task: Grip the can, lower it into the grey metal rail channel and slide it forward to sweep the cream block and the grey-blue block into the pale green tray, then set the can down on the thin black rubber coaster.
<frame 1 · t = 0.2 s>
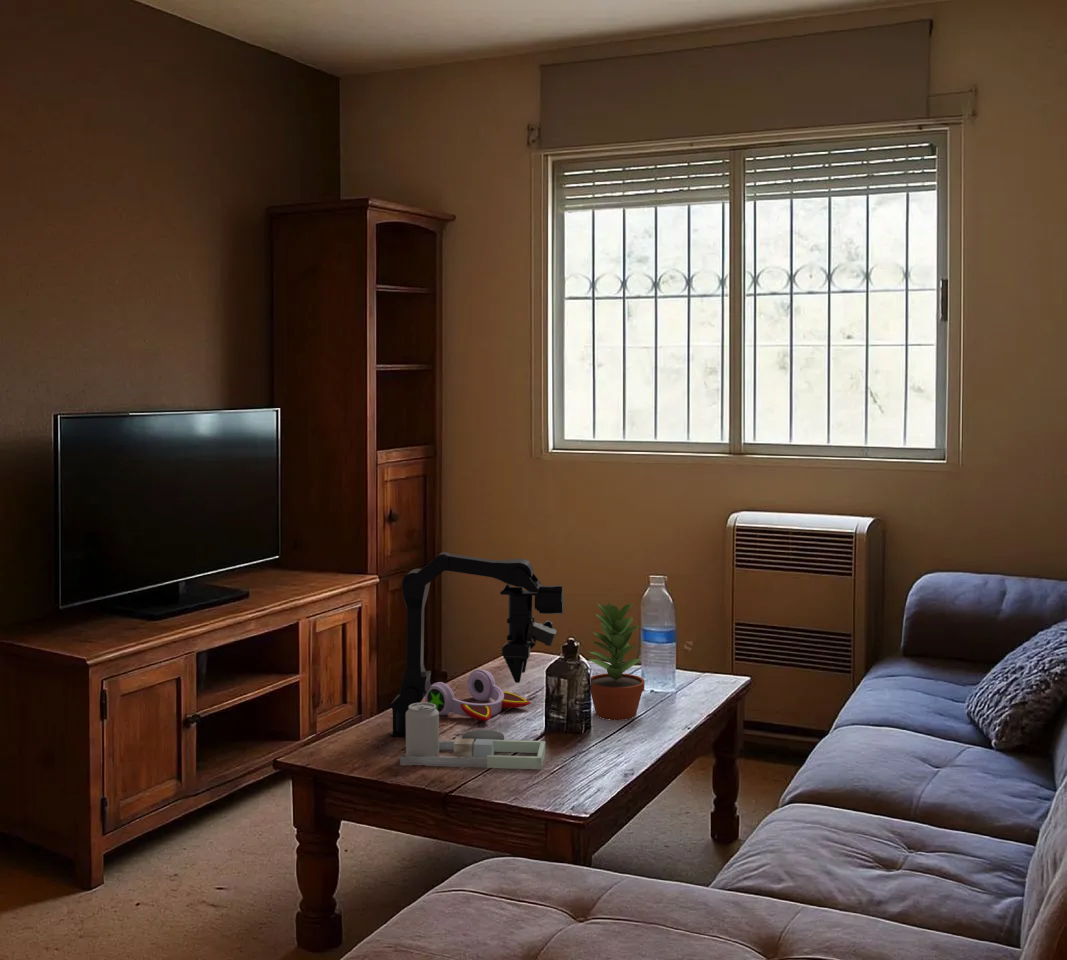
hand: (520, 677, 282), 14 cm above the table, tool pointing down, fingers open, 9 cm apart
grey-blue block: (483, 759, 267), on the table
headphones: (478, 712, 305), on the table
tray: (514, 759, 267), on the table
cream block: (464, 758, 268), on the table
channel: (447, 757, 268), on the table
can: (422, 757, 269), on the table
coaster: (483, 738, 281), on the table
potted plant: (615, 714, 301), on the table
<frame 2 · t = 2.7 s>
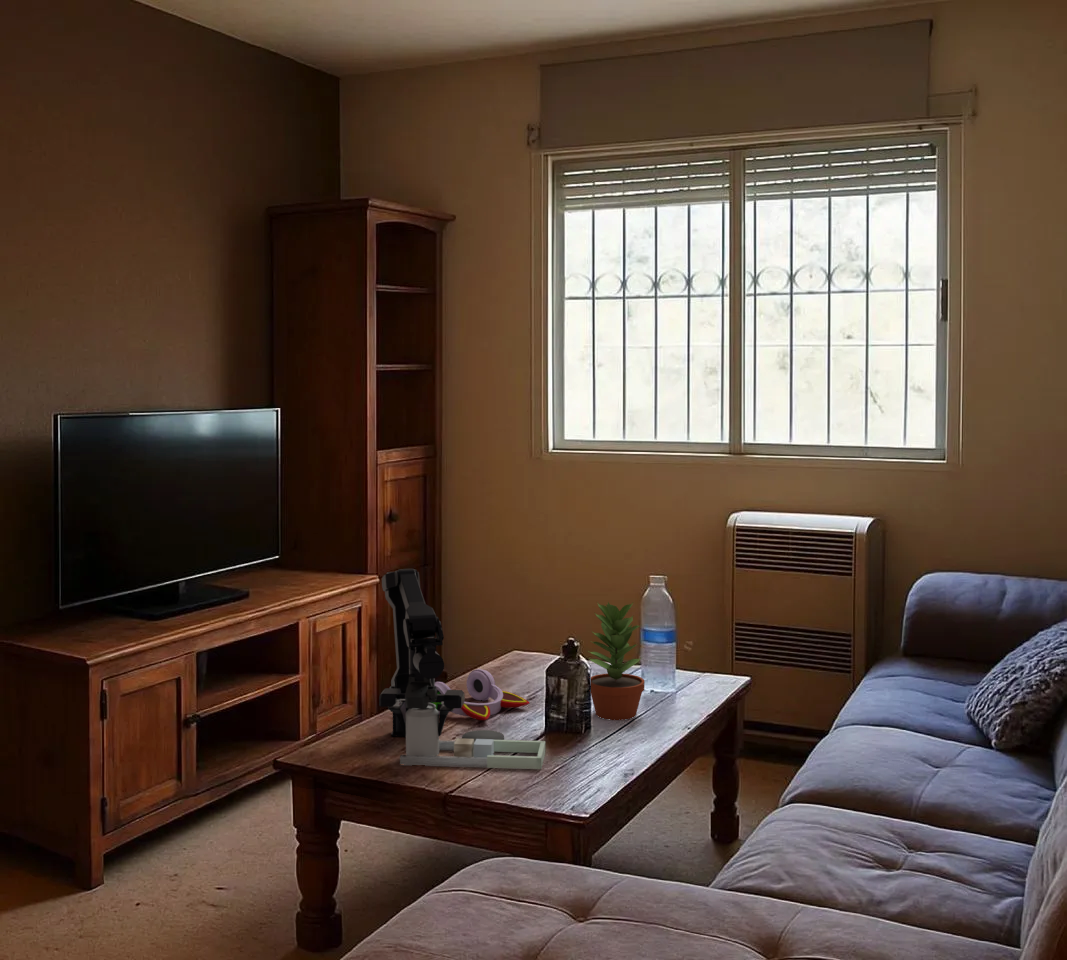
hand: (422, 735, 268), 5 cm above the table, tool pointing down, fingers closed on can, 7 cm apart
can: (422, 757, 269), on the table, touching gripper
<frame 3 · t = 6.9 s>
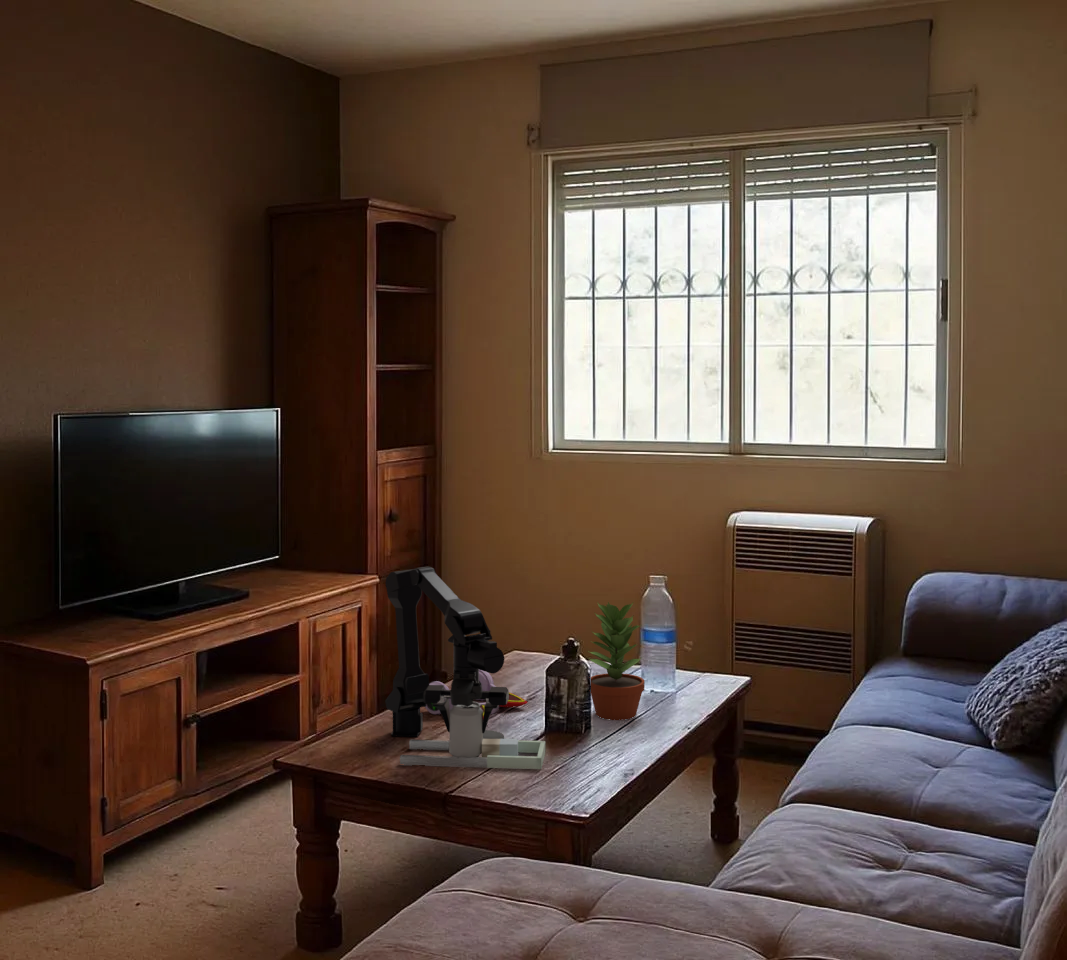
hand: (466, 732, 267), 6 cm above the table, tool pointing down, fingers closed on can, 7 cm apart
grey-blue block: (508, 758, 267), on the table, touching cream block
cream block: (491, 758, 267), on the table, touching can, grey-blue block
can: (465, 756, 267), on the table, touching cream block, gripper
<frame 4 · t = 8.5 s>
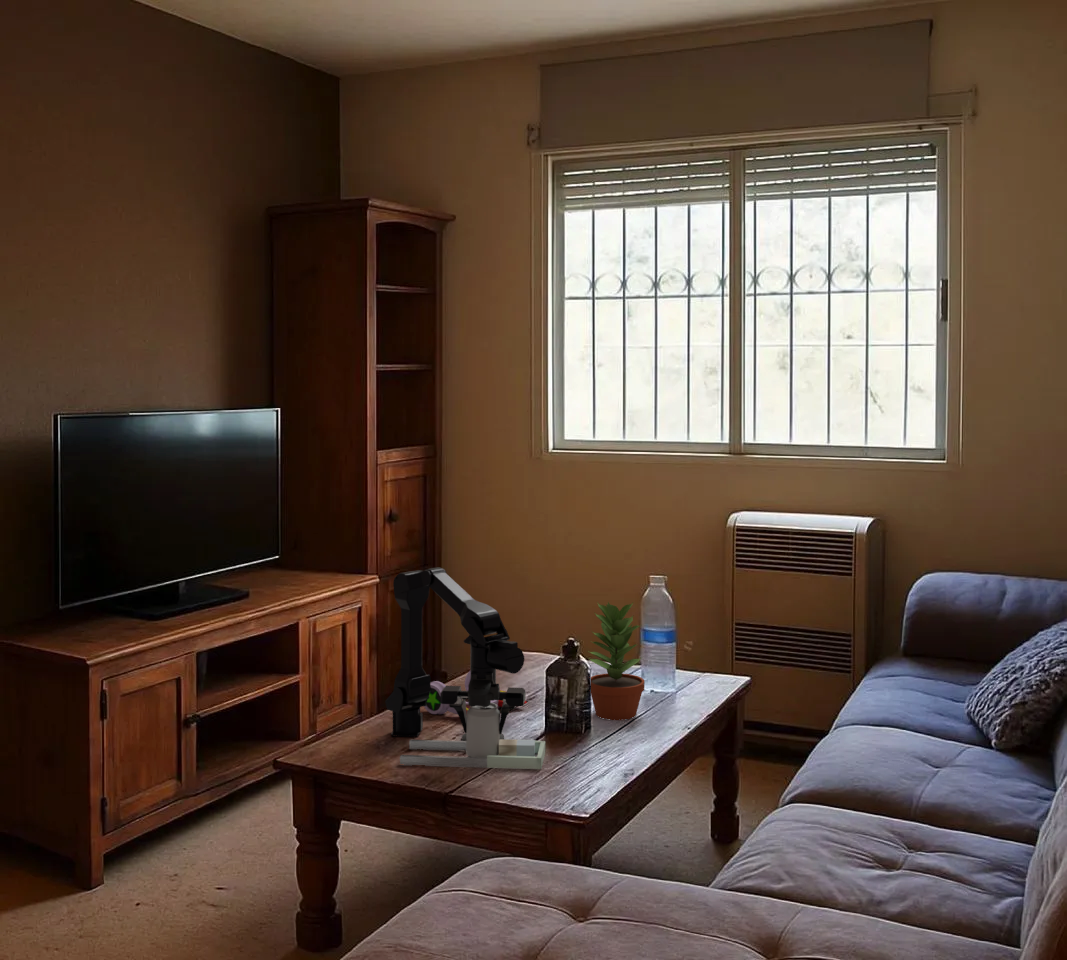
hand: (483, 733, 267), 6 cm above the table, tool pointing down, fingers closed on can, 7 cm apart
grey-blue block: (525, 759, 267), on the table
cream block: (508, 759, 267), on the table, touching can
can: (482, 757, 267), on the table, touching cream block, gripper
when the fingers open (7 cm above the table, at t = 12.6 s): can stays where it is, resting on coaster.
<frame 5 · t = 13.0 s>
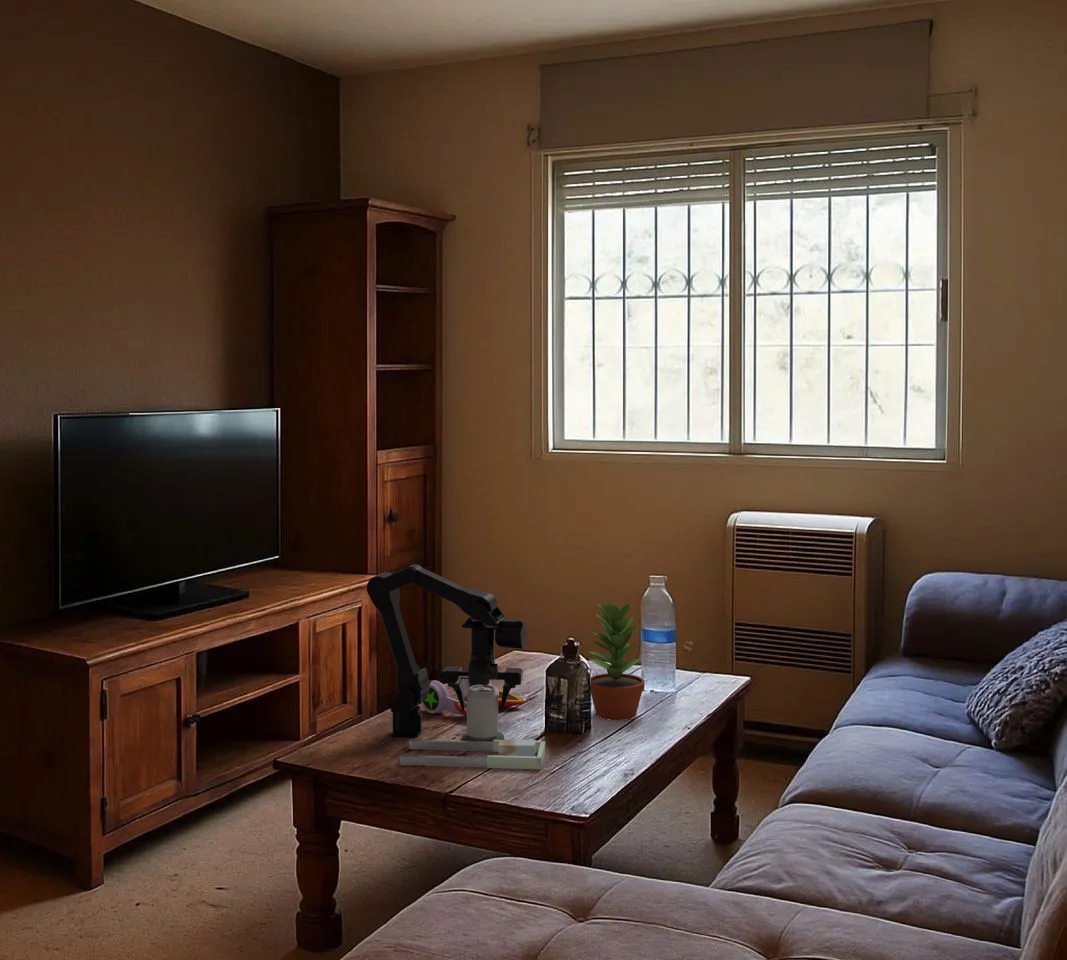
hand: (482, 711, 281), 7 cm above the table, tool pointing down, fingers open, 9 cm apart
cream block: (508, 759, 267), on the table
can: (482, 737, 281), resting on coaster
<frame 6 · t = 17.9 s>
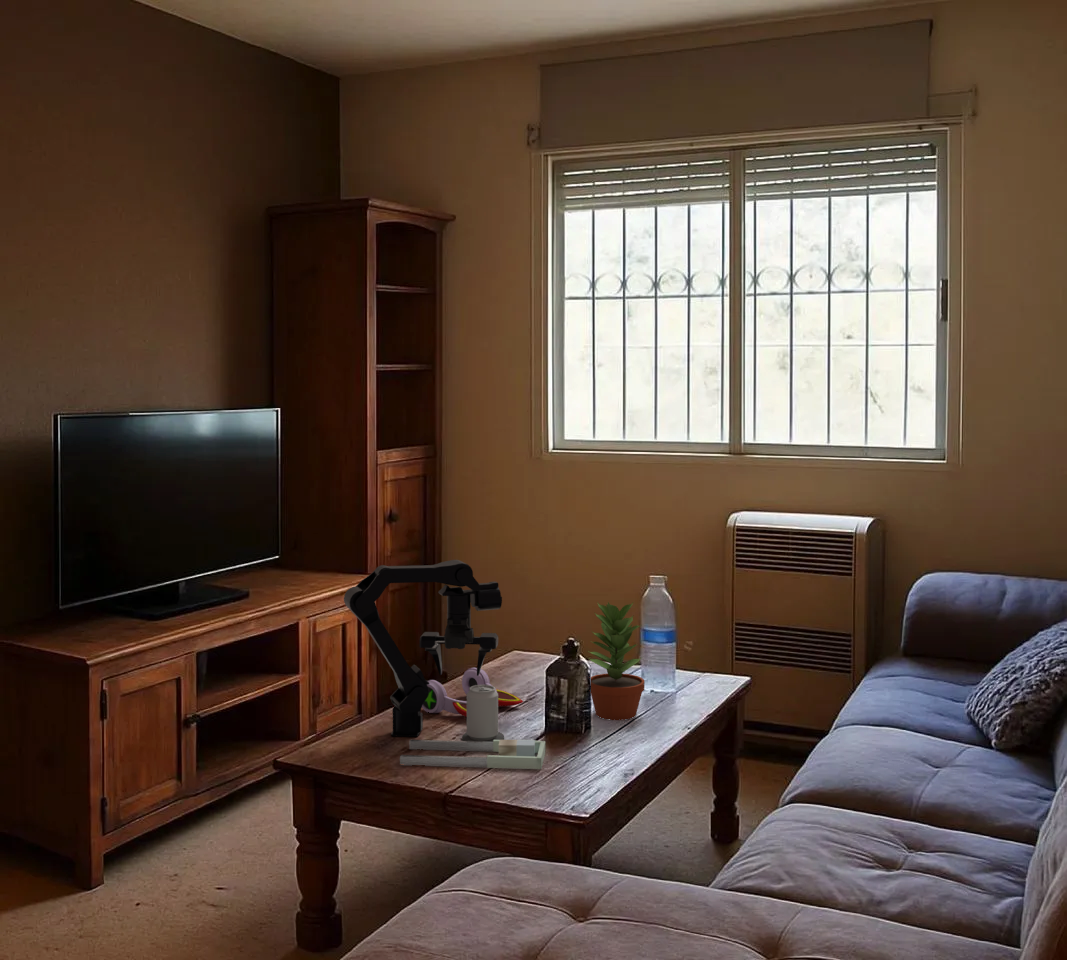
hand: (459, 675, 290), 13 cm above the table, tool pointing down, fingers open, 9 cm apart
at the end: cream block inside the target area (2.2 cm from its centre), on the table; grey-blue block inside the target area (1.8 cm from its centre), on the table; can 0.1 cm off-centre on the coaster, point 0.4 cm above the coaster's base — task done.
